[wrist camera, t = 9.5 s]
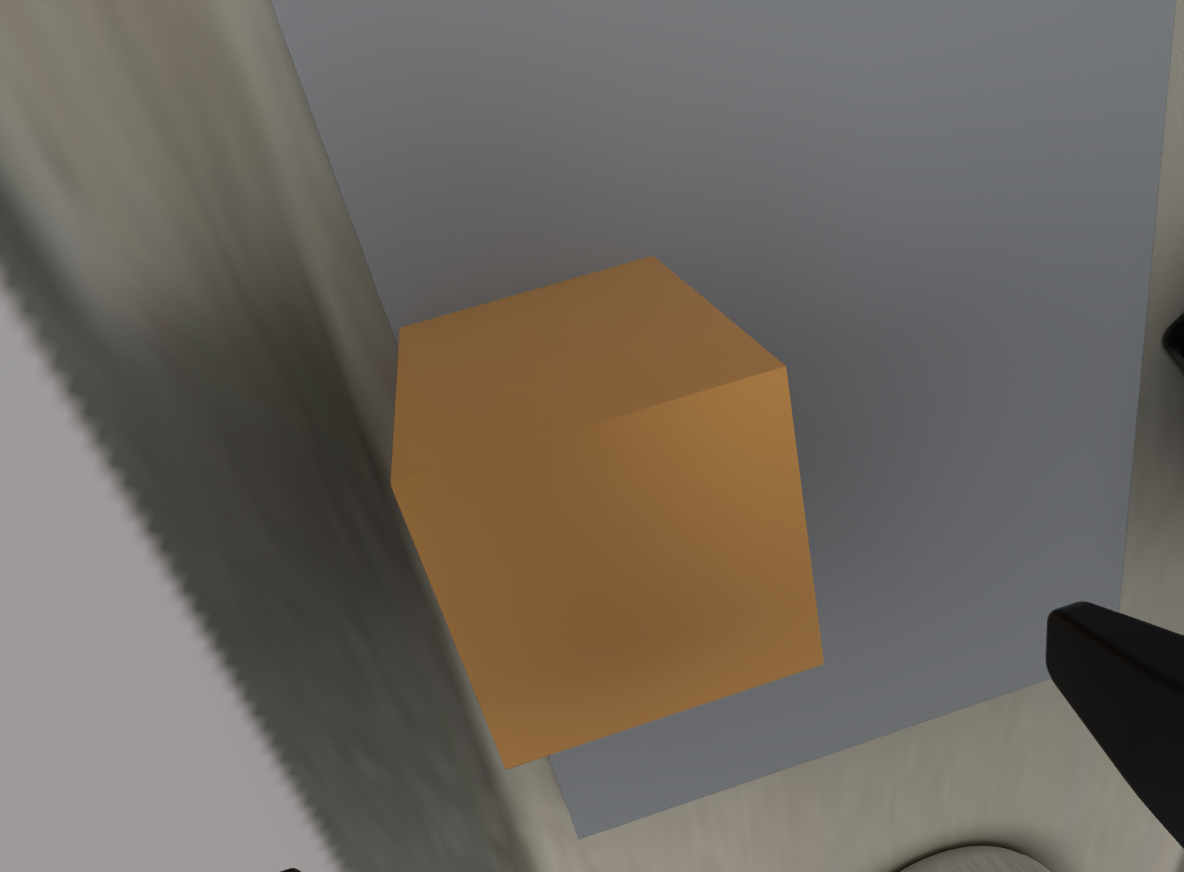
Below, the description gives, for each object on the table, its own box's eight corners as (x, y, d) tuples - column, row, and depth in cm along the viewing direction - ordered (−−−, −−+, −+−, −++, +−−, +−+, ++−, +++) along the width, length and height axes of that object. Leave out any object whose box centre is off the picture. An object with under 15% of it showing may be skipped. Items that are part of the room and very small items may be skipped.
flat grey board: (1080, 627, 27) (1114, 656, 26) (570, 799, 26) (578, 839, 25) (1139, -267, 16) (1203, -297, 15) (263, -50, 15) (248, -60, 14)
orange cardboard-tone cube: (696, 474, 20) (823, 663, 14) (476, 542, 19) (506, 769, 13) (652, 255, 17) (785, 365, 11) (399, 328, 17) (390, 485, 11)
